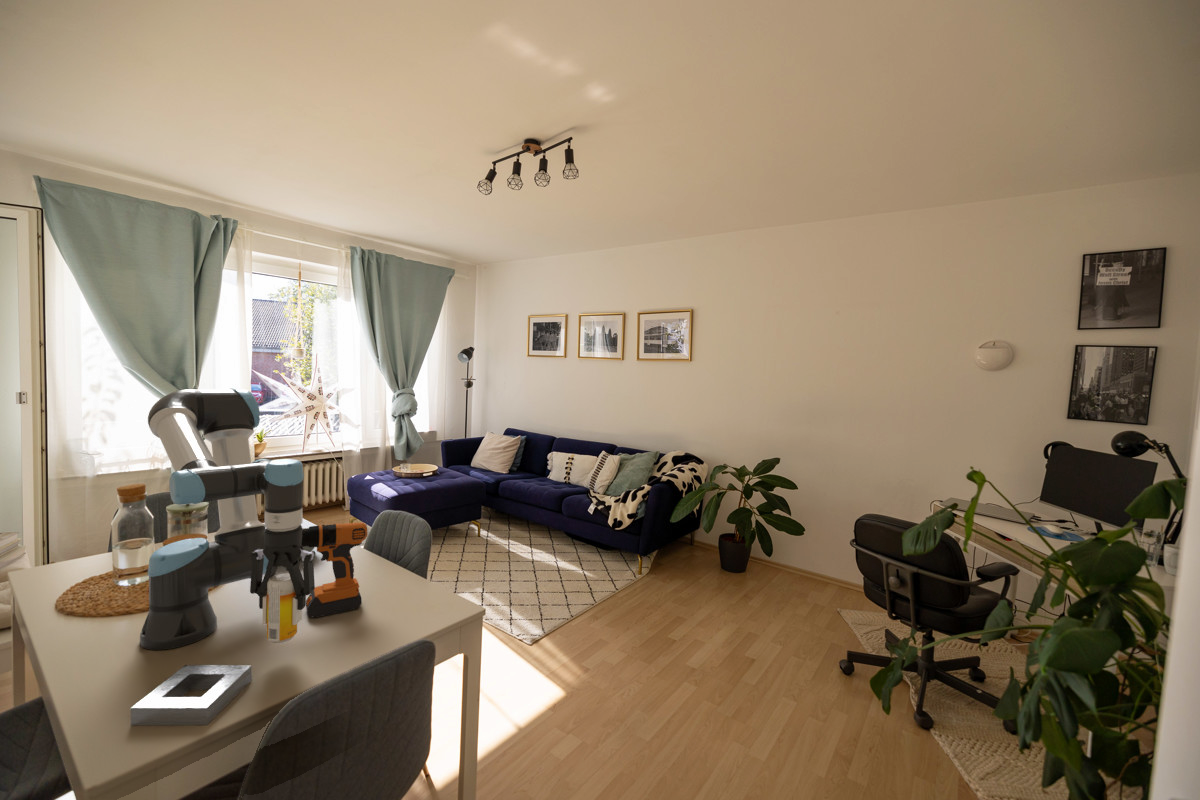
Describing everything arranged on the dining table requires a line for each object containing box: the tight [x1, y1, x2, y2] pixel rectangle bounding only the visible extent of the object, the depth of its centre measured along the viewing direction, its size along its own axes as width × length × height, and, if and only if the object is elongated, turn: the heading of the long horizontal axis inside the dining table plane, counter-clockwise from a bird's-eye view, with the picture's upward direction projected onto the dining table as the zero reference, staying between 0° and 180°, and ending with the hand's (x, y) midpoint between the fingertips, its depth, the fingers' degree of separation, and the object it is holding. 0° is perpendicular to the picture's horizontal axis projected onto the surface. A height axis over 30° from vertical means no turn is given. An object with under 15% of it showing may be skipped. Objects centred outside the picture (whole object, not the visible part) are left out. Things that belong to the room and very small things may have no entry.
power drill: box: [301, 521, 368, 619], centre depth 143 cm, size 22×7×25 cm, turn 123°
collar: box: [130, 664, 253, 726], centre depth 105 cm, size 14×14×4 cm
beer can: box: [266, 571, 298, 644], centre depth 119 cm, size 6×6×15 cm
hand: (282, 621), depth 119 cm, fingers closed on beer can, 6 cm apart
